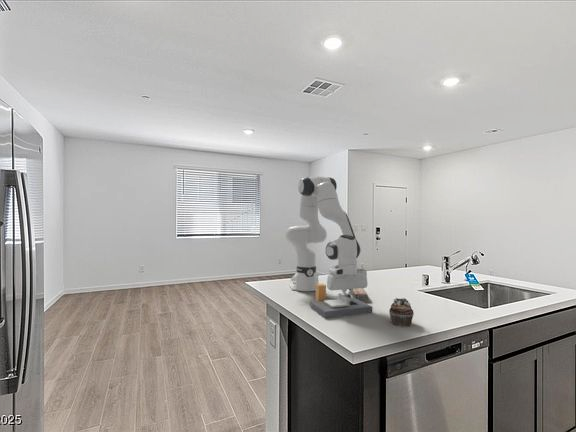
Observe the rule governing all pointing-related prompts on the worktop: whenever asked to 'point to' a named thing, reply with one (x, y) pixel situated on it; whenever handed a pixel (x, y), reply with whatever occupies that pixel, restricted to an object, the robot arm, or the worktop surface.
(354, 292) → the packaged product
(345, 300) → the shutter
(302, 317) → the worktop surface
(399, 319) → the cupcake
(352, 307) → the socket plate
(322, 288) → the orange block
